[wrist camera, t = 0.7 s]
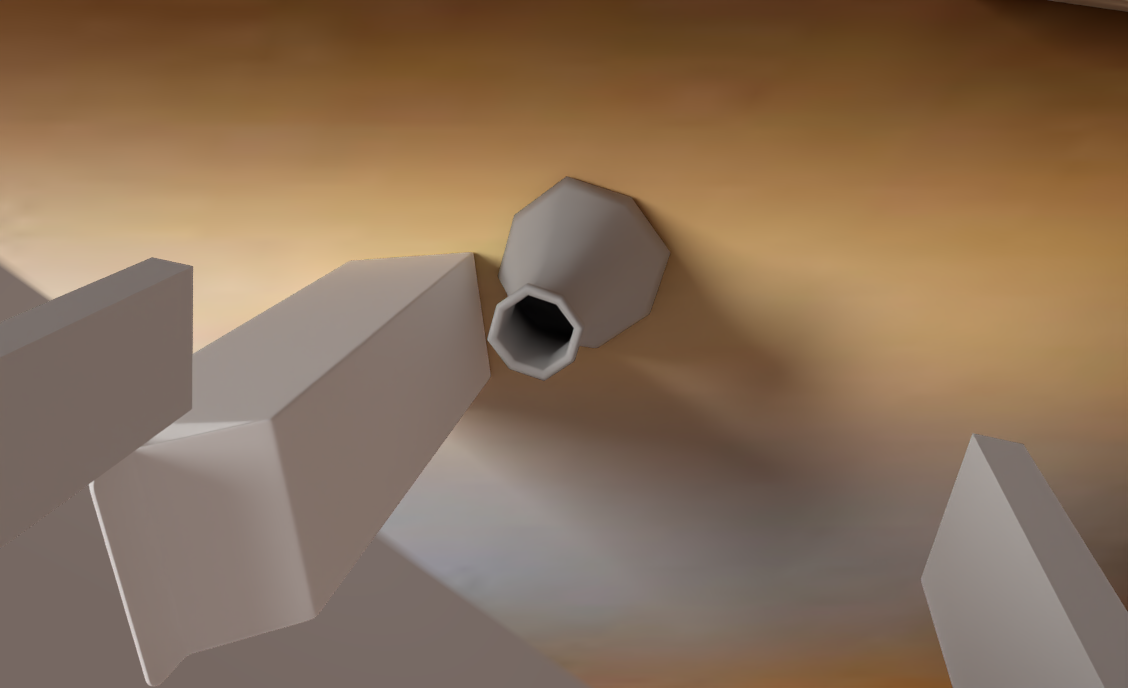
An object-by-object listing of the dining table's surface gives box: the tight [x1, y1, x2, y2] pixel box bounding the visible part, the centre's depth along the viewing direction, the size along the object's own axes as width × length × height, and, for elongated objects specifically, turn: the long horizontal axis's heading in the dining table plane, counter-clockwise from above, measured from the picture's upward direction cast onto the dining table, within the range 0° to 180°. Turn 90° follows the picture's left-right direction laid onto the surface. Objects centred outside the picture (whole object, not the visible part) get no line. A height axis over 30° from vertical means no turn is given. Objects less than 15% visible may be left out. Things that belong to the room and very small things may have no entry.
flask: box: [487, 176, 671, 381], centre depth 36 cm, size 7×7×10 cm
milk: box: [89, 252, 491, 686], centre depth 32 cm, size 6×6×22 cm
